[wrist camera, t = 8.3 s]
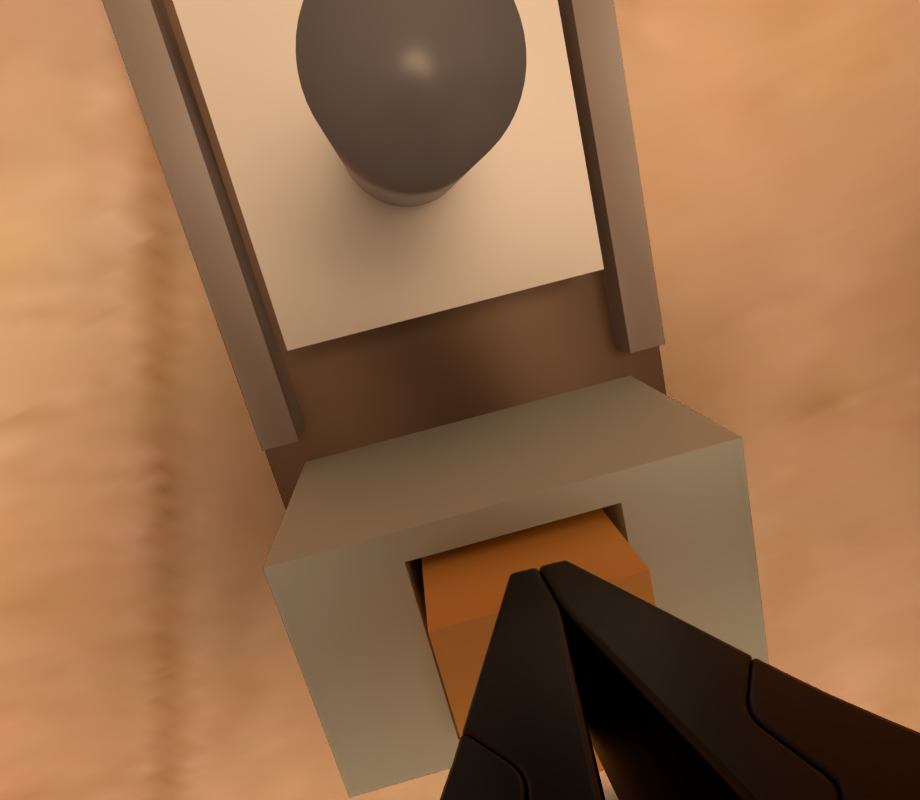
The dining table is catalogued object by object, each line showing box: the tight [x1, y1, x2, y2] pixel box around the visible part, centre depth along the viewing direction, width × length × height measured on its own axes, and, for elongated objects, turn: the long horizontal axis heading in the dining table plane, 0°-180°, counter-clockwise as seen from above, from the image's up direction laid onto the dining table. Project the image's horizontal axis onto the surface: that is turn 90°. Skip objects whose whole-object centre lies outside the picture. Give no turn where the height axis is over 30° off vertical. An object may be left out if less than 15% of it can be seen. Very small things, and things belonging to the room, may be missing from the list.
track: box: [102, 0, 666, 509], centre depth 16 cm, size 12×27×3 cm, turn 14°
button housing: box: [263, 376, 769, 798], centre depth 16 cm, size 10×6×6 cm, turn 104°
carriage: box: [172, 0, 604, 351], centre depth 12 cm, size 8×8×8 cm
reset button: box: [421, 508, 656, 772], centre depth 13 cm, size 4×4×5 cm
